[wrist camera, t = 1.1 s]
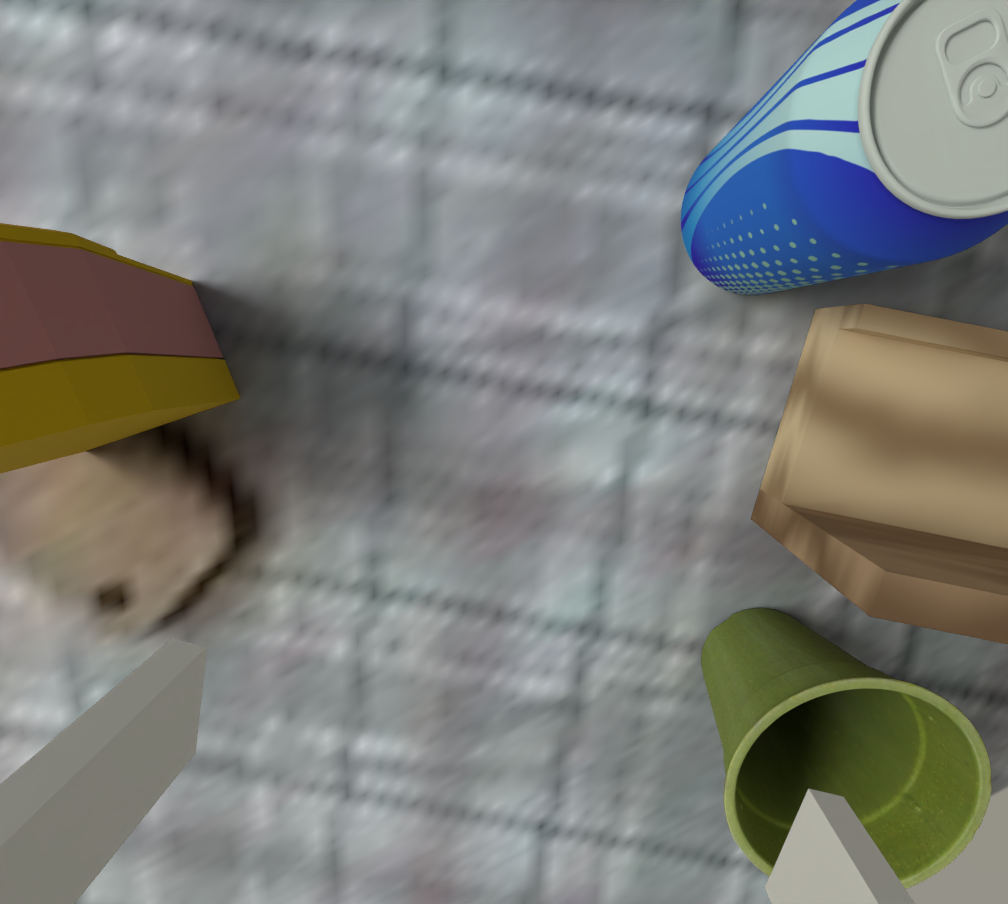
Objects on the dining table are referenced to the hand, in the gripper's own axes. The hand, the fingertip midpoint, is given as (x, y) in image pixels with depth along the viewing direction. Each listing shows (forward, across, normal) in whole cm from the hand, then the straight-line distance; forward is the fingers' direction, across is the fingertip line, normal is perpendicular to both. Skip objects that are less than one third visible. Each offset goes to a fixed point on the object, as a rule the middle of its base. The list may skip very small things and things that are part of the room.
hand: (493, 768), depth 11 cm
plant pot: (+23, +18, -8) cm, 30 cm away
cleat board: (+23, +25, +8) cm, 34 cm away
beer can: (+23, +9, +18) cm, 31 cm away
